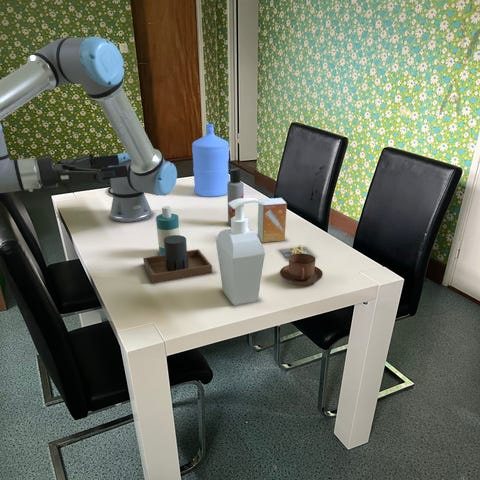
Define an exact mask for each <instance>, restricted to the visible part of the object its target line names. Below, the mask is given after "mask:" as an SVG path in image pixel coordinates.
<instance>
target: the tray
mask: <svg viewBox="0 0 480 480" xmlns="http://www.w3.org/2000/svg"><path fill="white" fill-rule="evenodd" d="M187 256H188V266H189V267H188V268H187V269H181V270H175V271H167V269H166V263H165V255H160V254H159V255H153V256H147V257H143V258H142V261H143V266H144V268H145V270H146V272H147V274H148V276H149V277H150V280H151V281H152V283H153V284H158V283H163V282H169V281H175V280H180V279H186V278H192V277H196V276H197V277H198V276H203V275H210V274H213V265H212V264H211V262H210V261H209V260H208V259H207V258H206V256H205V255H204V254H203V253H202V251H201V250H200V249H198V248H197V249H191V250H187Z"/></svg>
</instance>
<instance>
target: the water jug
mask: <svg viewBox="0 0 480 480" xmlns="http://www.w3.org/2000/svg"><path fill="white" fill-rule="evenodd" d="M205 126H206V127H205V132H206V134H205V135H203V136H202V137H200V138H197V139H196V140H194V141H193V142H192V143H191V145H192V147H191V150H192V151H191V152H192V165H193V168H192V170H193V181H194V182H193V183H194V186H193V187H194V189H193V190H194V193H195V194H196V195H198V196H200V197H205V198H206V197H207V198H208V197H209V198H211V197H212V198H216V197H222V196H225V195H228V194H227V183H228V182H230V174H229V159H230V144H229V142H228V141H227V139H223V138H222V137H220V136H218V135H215V132H214V130H215V129H214V123H205Z"/></svg>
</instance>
